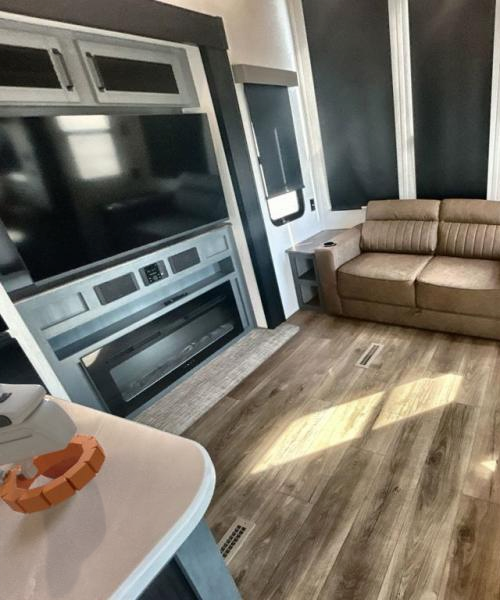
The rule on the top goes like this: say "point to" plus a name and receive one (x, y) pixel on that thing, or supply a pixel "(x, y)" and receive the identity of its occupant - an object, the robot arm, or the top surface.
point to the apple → (61, 467)
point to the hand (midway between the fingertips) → (18, 479)
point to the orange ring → (59, 488)
